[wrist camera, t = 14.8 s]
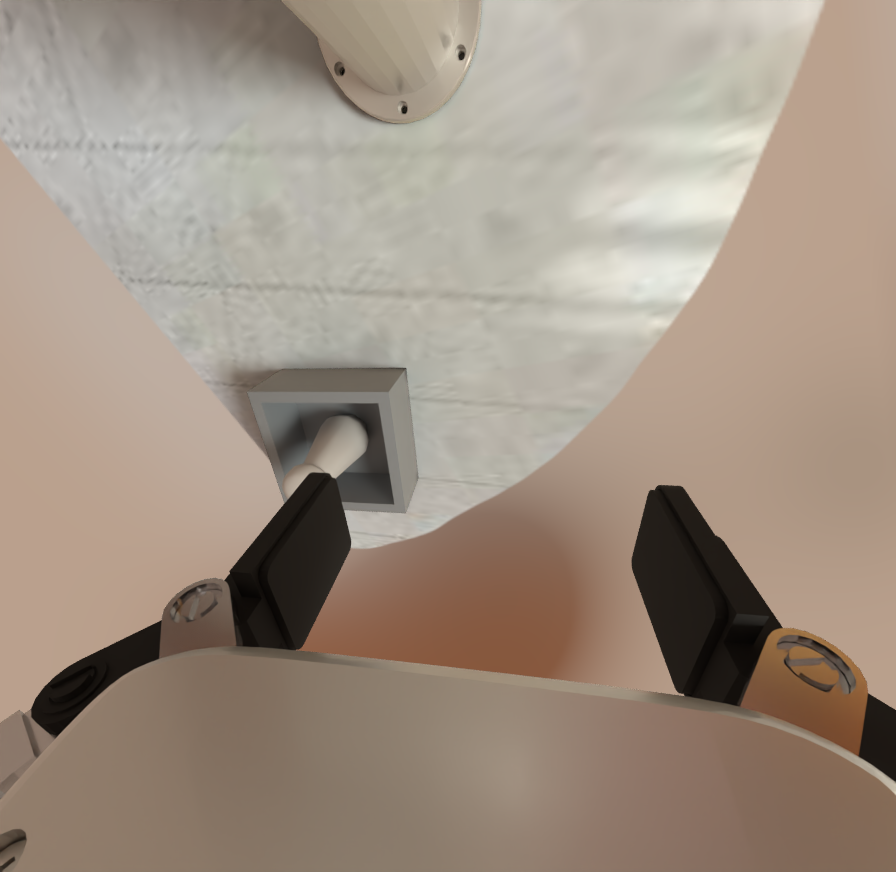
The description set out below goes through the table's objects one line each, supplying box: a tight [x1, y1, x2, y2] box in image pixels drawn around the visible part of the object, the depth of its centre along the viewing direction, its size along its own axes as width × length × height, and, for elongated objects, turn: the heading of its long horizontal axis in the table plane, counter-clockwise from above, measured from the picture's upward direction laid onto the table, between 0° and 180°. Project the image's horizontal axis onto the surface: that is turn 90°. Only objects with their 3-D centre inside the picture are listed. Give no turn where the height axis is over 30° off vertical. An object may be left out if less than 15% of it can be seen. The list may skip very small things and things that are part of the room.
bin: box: [247, 368, 419, 513], centre depth 43 cm, size 15×15×7 cm
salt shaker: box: [282, 414, 369, 499], centre depth 40 cm, size 6×6×13 cm
